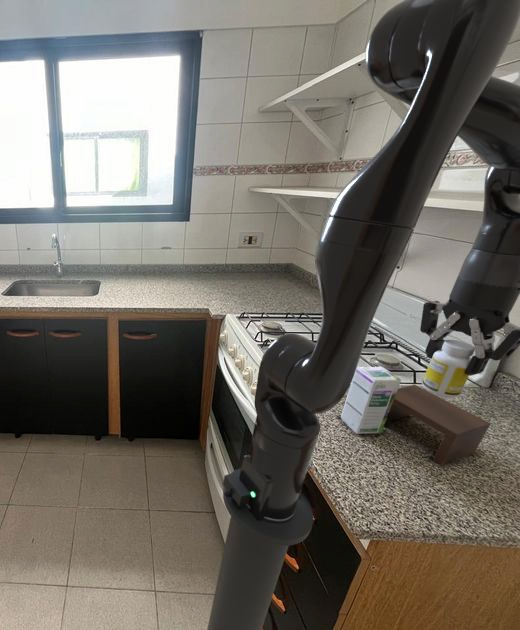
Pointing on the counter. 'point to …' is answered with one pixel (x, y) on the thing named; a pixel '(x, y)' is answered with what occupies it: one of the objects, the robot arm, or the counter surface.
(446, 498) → the counter surface
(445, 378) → the supplement bottle
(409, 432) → the counter surface
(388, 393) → the syrup box
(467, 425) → the brown wooden arch block
